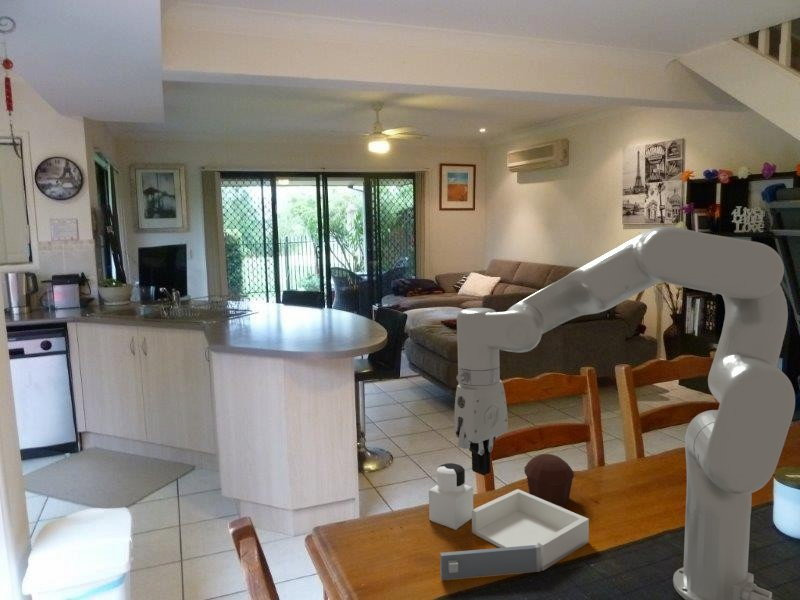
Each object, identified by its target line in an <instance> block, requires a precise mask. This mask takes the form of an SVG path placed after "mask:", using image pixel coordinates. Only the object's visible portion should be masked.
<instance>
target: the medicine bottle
mask: <svg viewBox="0 0 800 600" xmlns="http://www.w3.org/2000/svg"><path fill="white" fill-rule="evenodd" d="M465 471H466V470H465V468H464V467H463V466H462V465H460V464H458V463H454V462H453V463H452V462H450V463H443V464H440V465H439V466H438V467H437V469H436V485H434V486H433V487H432V488H430V489H429V490H428V512H429V513H428V515H429V516H428V519H429V521H430V520H431V522H434V523H436V524H439V525H442V526H443V527H444V526H445V527H447V528H450V529H451V530H455V531H456V530H458V529H459V528H460V527H462V526H464V525H465V524H466V523H467V522H468V521H470V520H472V510H473V509H474V487H473V486H472V485H467V484H466V477H465V476H466V475H465V474H466V473H465Z"/></svg>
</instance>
